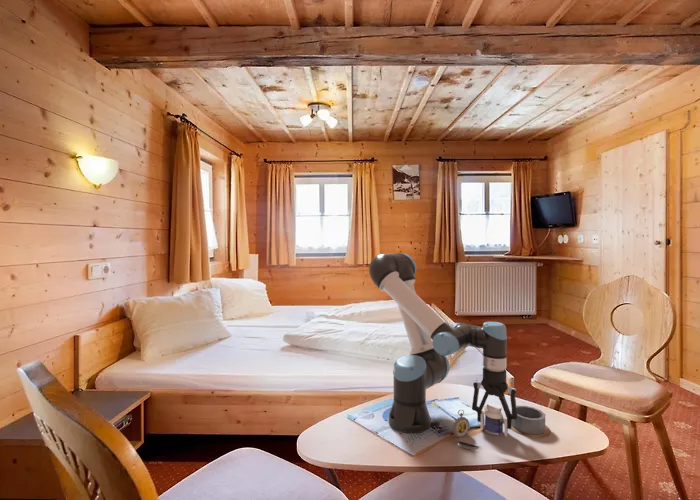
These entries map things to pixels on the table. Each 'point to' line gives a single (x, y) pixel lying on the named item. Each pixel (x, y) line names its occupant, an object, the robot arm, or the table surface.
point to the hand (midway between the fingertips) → (494, 434)
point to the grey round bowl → (529, 420)
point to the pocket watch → (462, 430)
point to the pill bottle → (494, 420)
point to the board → (545, 434)
